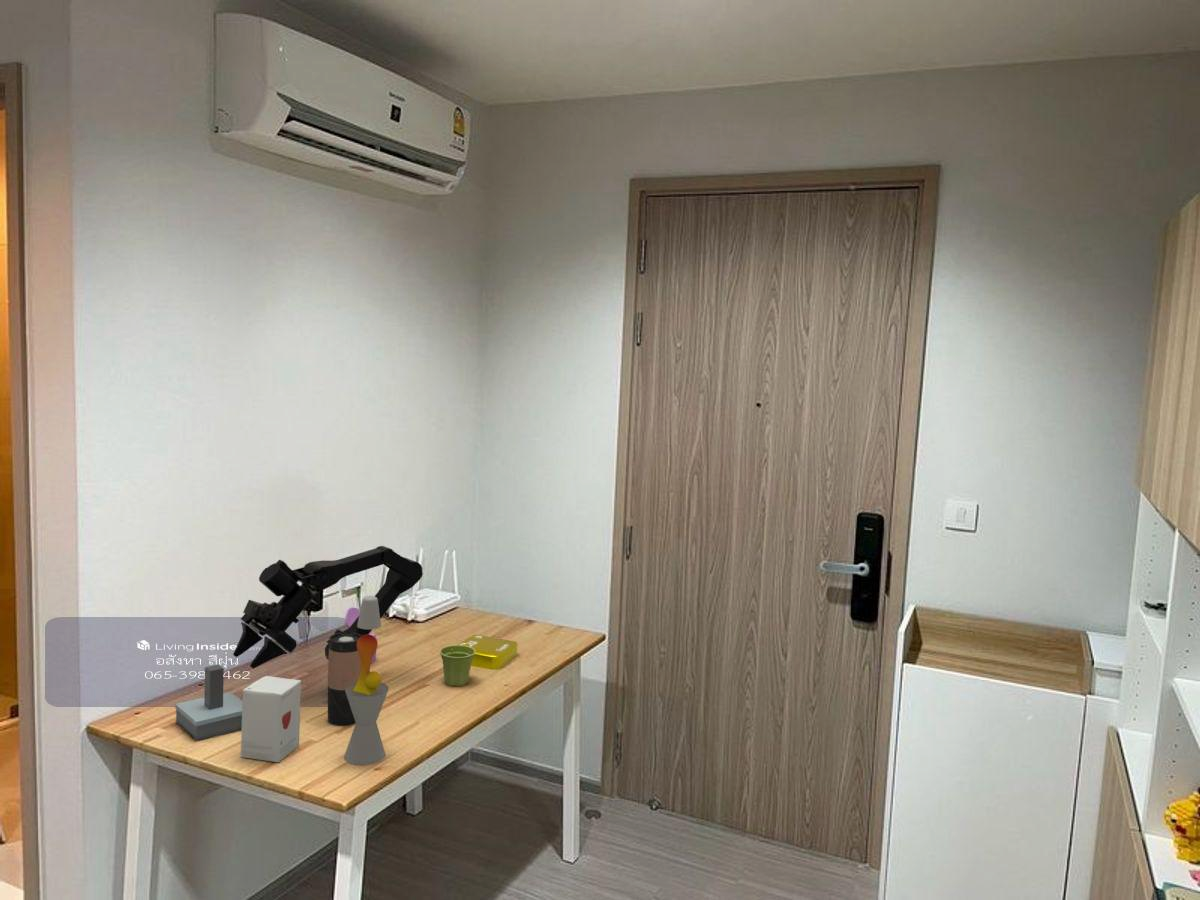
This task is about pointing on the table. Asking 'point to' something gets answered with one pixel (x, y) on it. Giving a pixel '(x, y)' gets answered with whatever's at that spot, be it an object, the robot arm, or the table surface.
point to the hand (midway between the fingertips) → (242, 661)
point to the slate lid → (211, 701)
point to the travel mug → (342, 676)
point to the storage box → (209, 727)
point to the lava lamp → (366, 693)
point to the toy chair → (349, 620)
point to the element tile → (491, 651)
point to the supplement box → (270, 718)
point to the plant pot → (457, 664)
